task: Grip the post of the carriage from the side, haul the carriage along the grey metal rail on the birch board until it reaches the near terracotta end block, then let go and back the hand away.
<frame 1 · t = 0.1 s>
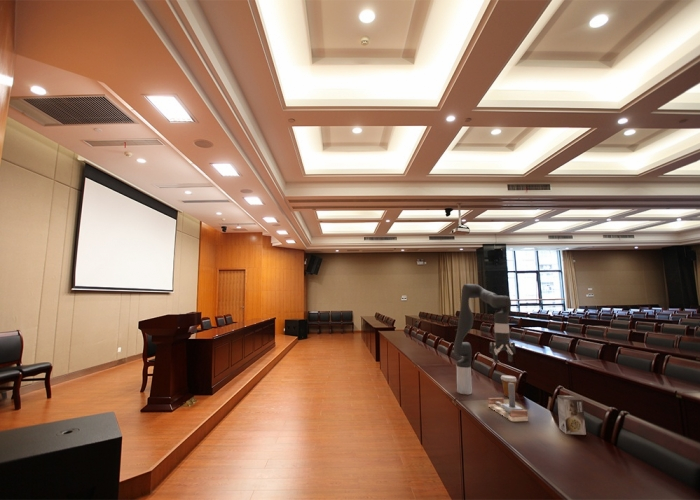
hand: (503, 361, 178), 29 cm above the table, tool pointing down, fingers open, 8 cm apart
coffee box: (572, 432, 157), on the table
rail bed: (507, 413, 180), on the table
disposable coffee cup: (509, 395, 213), on the table
carriage: (511, 397, 177), point 10 cm above the table, slide at 10.0 cm
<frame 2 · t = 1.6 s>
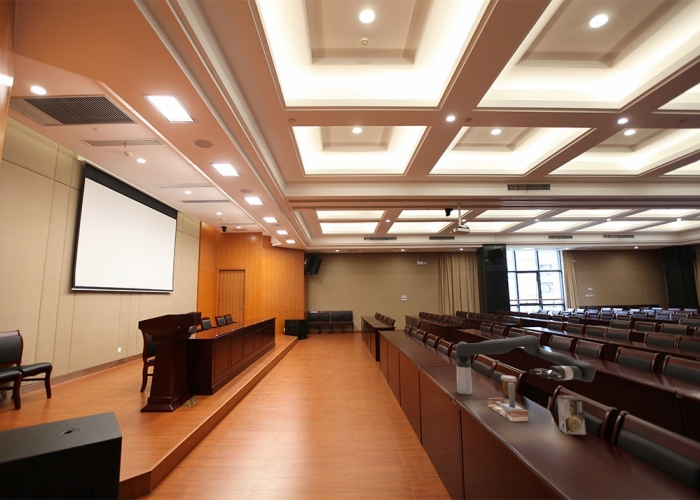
hand: (535, 373, 180), 22 cm above the table, tool horizontal, fingers open, 8 cm apart
nothing on the table moved.
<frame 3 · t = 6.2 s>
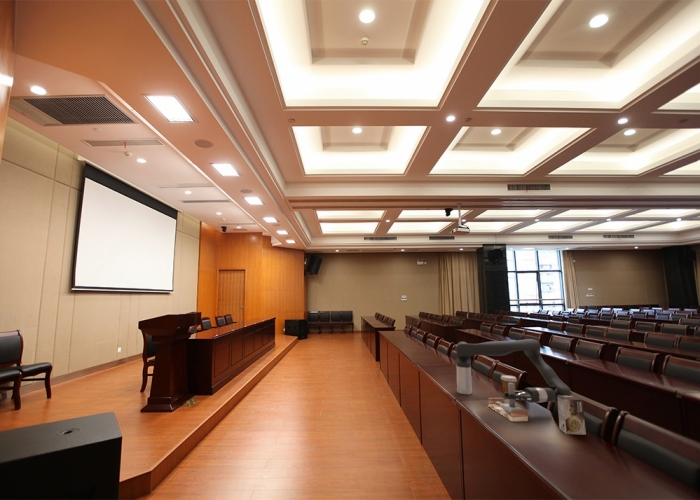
hand: (507, 395, 176), 11 cm above the table, tool horizontal, fingers closed on carriage, 3 cm apart
carriage: (511, 397, 177), point 10 cm above the table, slide at 10.0 cm, touching gripper
everything else where it was.
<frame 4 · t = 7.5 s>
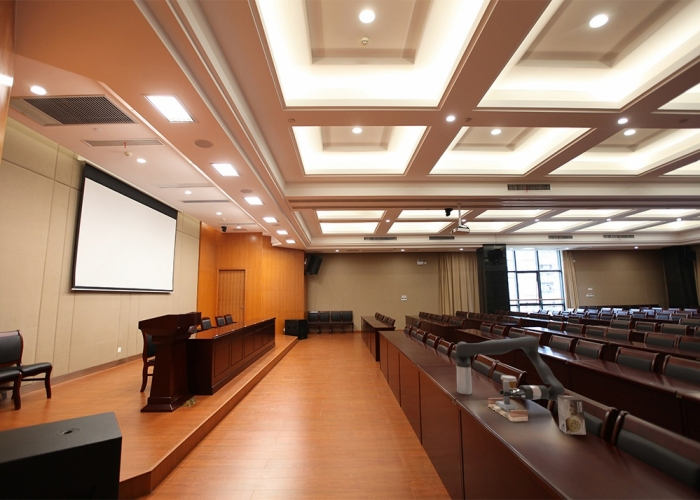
hand: (501, 393, 181), 11 cm above the table, tool horizontal, fingers closed on carriage, 3 cm apart
carriage: (506, 395, 181), point 10 cm above the table, slide at 5.4 cm, touching gripper
everything else where it was.
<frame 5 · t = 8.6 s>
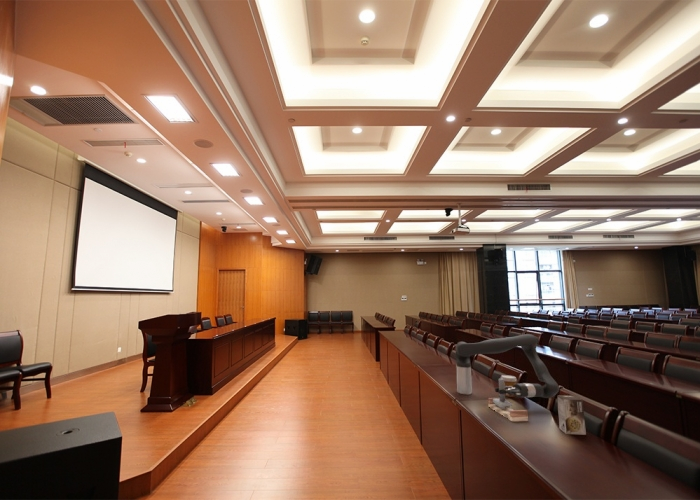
hand: (497, 390, 185), 11 cm above the table, tool horizontal, fingers closed on carriage, 3 cm apart
carriage: (502, 392, 185), point 10 cm above the table, slide at 1.1 cm, touching gripper
everything else where it was.
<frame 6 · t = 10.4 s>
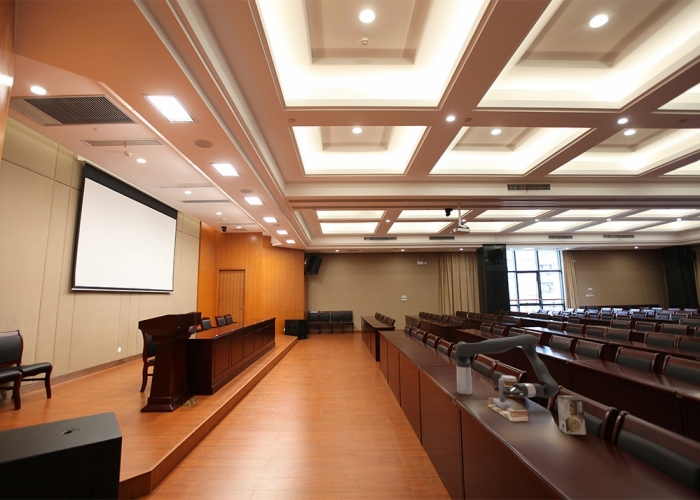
hand: (498, 390, 185), 11 cm above the table, tool horizontal, fingers open, 8 cm apart
carriage: (502, 392, 185), point 10 cm above the table, slide at 1.1 cm
everything else where it was.
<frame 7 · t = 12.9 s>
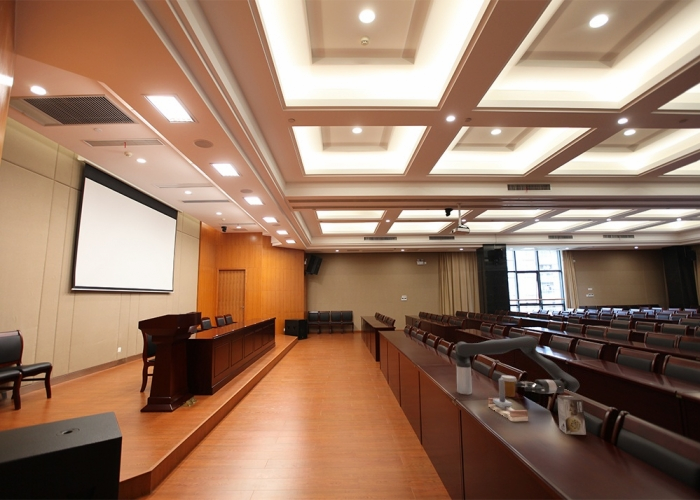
hand: (520, 386, 188), 13 cm above the table, tool horizontal, fingers open, 8 cm apart
nothing on the table moved.
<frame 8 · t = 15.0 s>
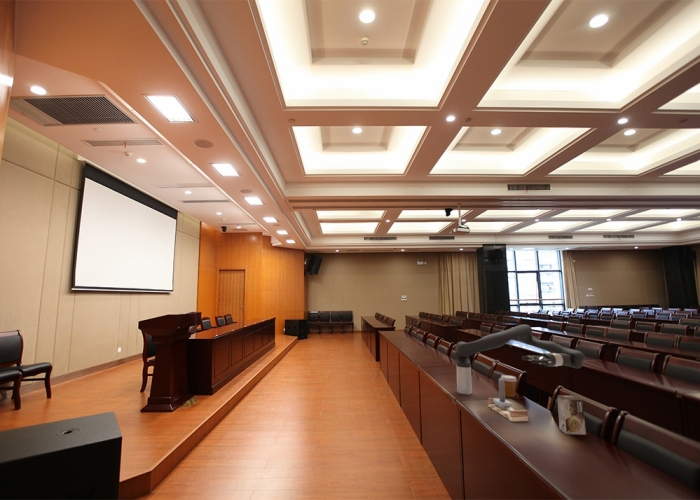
hand: (527, 359, 190), 28 cm above the table, tool horizontal, fingers open, 8 cm apart
nothing on the table moved.
at the end: carriage slide at 1.1 cm; the gripper is holding nothing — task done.
